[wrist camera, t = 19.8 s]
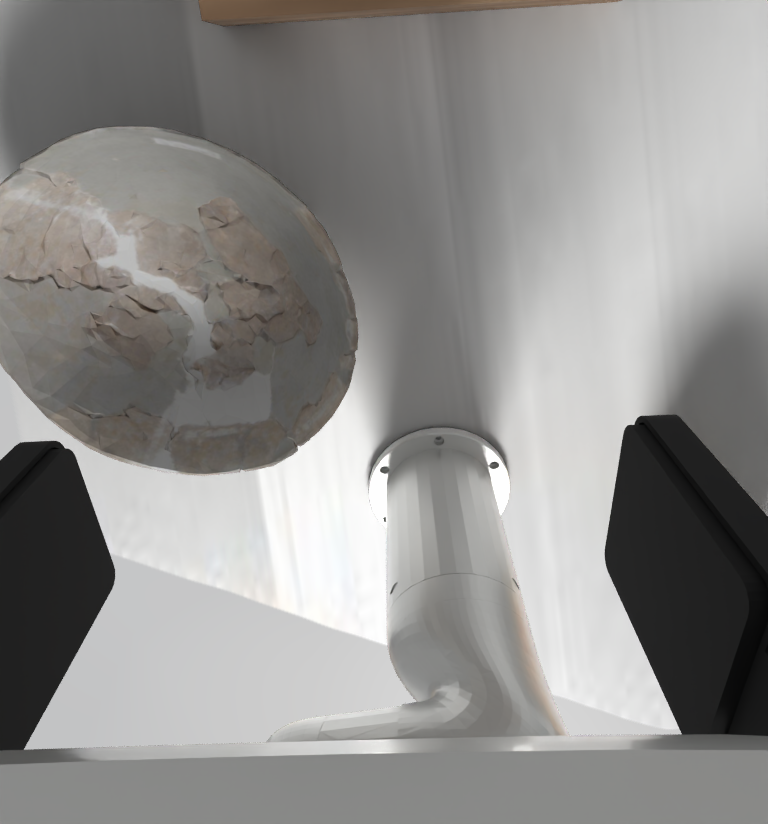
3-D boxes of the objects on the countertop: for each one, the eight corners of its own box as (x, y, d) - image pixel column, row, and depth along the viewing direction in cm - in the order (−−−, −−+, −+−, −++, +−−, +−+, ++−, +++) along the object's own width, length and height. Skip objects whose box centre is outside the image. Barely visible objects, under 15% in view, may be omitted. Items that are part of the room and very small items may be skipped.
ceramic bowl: (10, 113, 39) (-96, 126, 31) (360, 114, 39) (353, 126, 31) (91, 407, 50) (31, 477, 42) (365, 407, 50) (361, 478, 42)
